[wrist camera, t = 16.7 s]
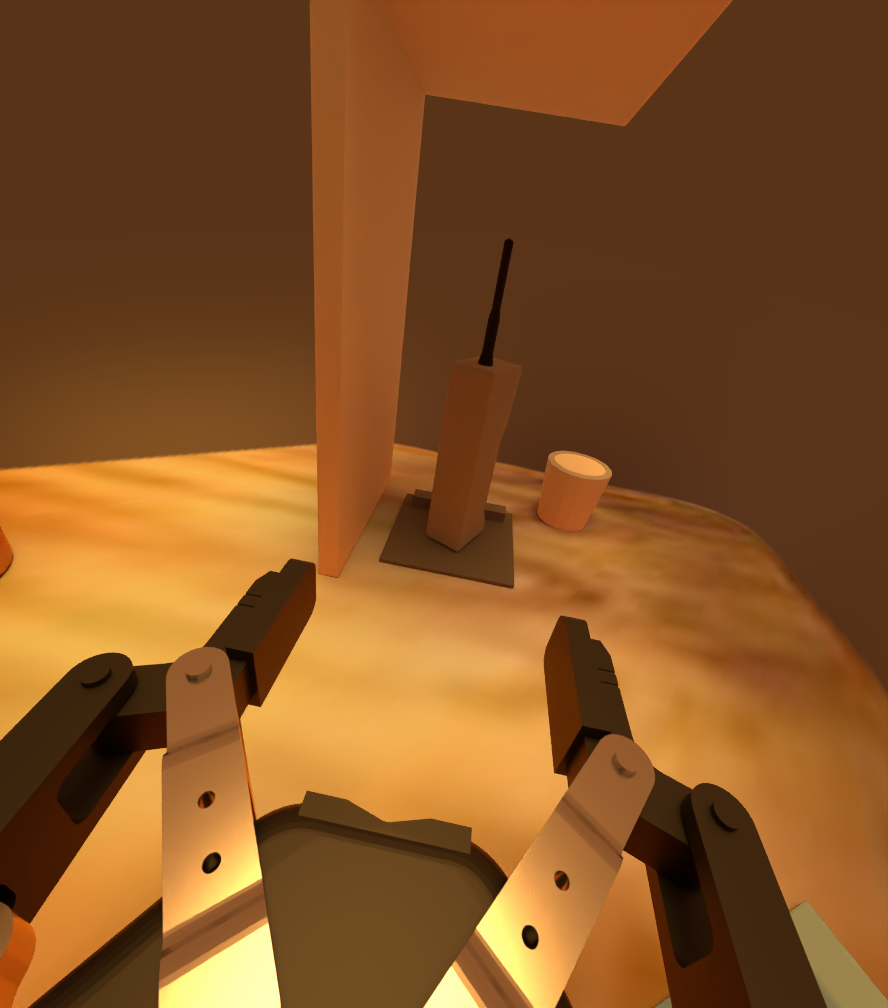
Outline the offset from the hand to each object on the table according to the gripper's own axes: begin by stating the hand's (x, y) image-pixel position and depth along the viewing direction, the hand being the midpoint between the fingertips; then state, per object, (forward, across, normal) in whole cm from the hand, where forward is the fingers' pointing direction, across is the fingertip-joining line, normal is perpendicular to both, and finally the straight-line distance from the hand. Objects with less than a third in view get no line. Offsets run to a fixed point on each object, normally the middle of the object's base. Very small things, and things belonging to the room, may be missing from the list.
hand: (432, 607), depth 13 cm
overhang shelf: (+24, +1, +14) cm, 28 cm away
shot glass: (+32, -12, +14) cm, 37 cm away
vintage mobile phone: (+24, -1, +14) cm, 28 cm away
